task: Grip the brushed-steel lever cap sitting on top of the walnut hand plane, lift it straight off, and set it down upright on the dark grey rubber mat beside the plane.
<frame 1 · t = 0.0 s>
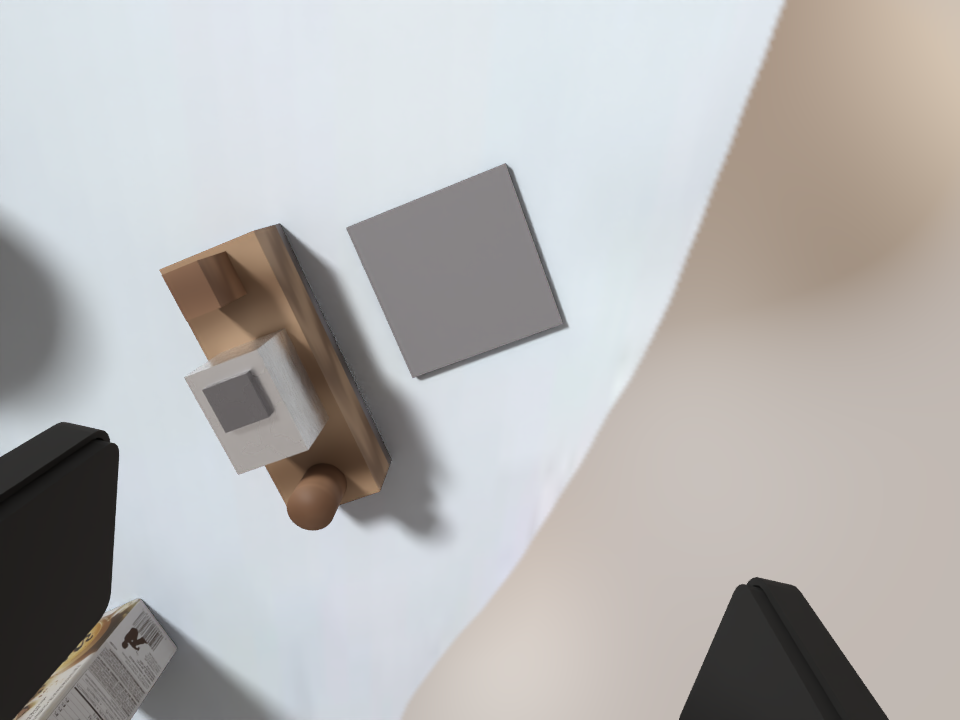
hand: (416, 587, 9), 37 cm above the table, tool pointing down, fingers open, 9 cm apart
rubber mat: (457, 275, 45), on the table
coffee box: (121, 637, 57), on the table
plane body: (297, 363, 48), on the table
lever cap: (275, 386, 43), point 5 cm above the table, touching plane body
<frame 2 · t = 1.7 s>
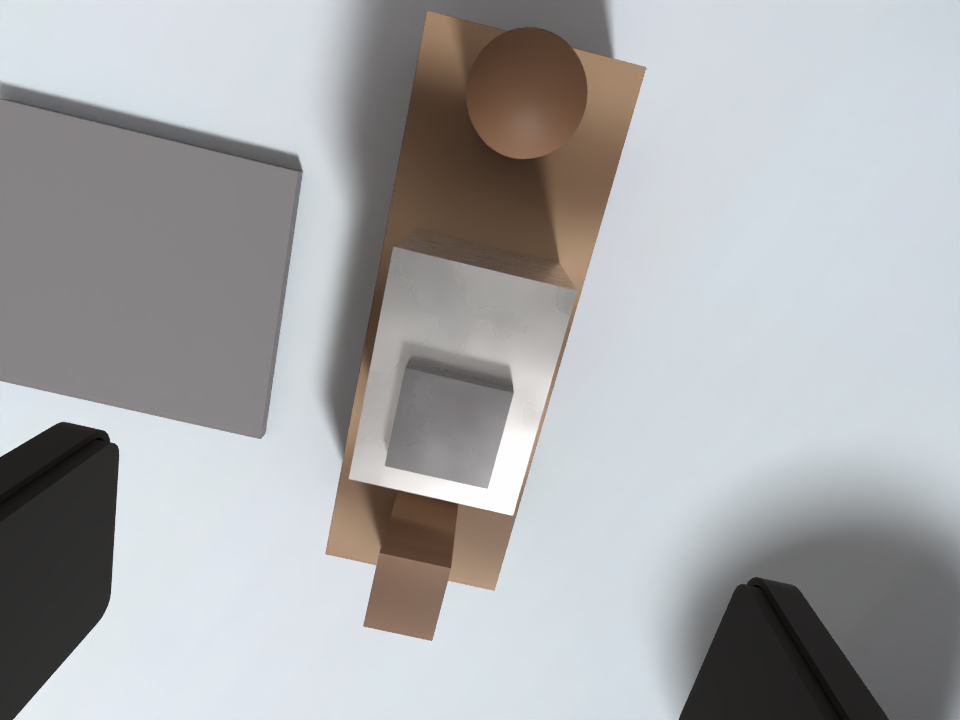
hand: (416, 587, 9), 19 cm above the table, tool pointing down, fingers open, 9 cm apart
rubber mat: (145, 279, 27), on the table
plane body: (471, 310, 27), on the table
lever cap: (465, 341, 22), point 5 cm above the table, touching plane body
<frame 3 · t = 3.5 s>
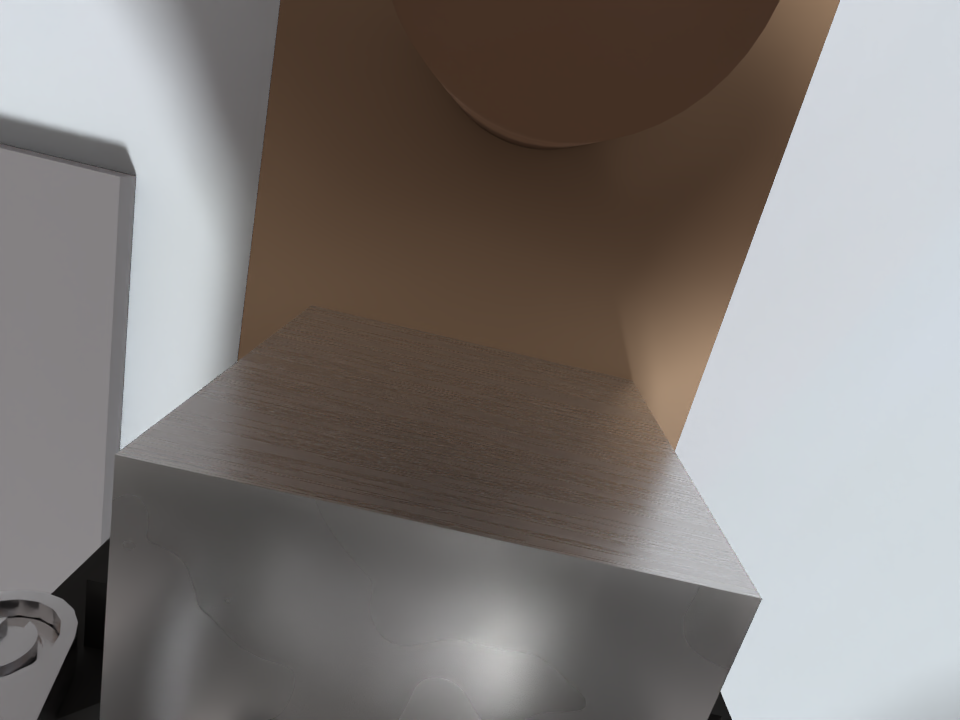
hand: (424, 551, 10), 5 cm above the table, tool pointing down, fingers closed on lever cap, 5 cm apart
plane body: (450, 419, 15), on the table
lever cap: (426, 536, 11), point 5 cm above the table, touching gripper, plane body
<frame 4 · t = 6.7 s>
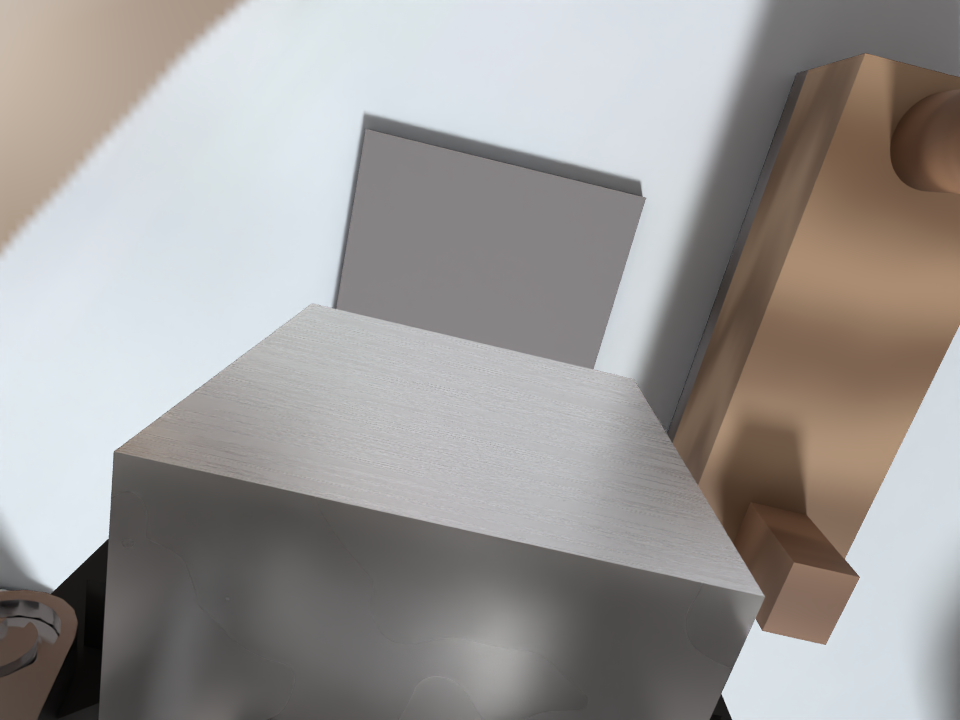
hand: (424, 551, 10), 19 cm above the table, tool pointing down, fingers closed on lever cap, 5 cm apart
rubber mat: (475, 298, 28), on the table
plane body: (786, 327, 28), on the table
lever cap: (427, 535, 10), point 19 cm above the table, touching gripper
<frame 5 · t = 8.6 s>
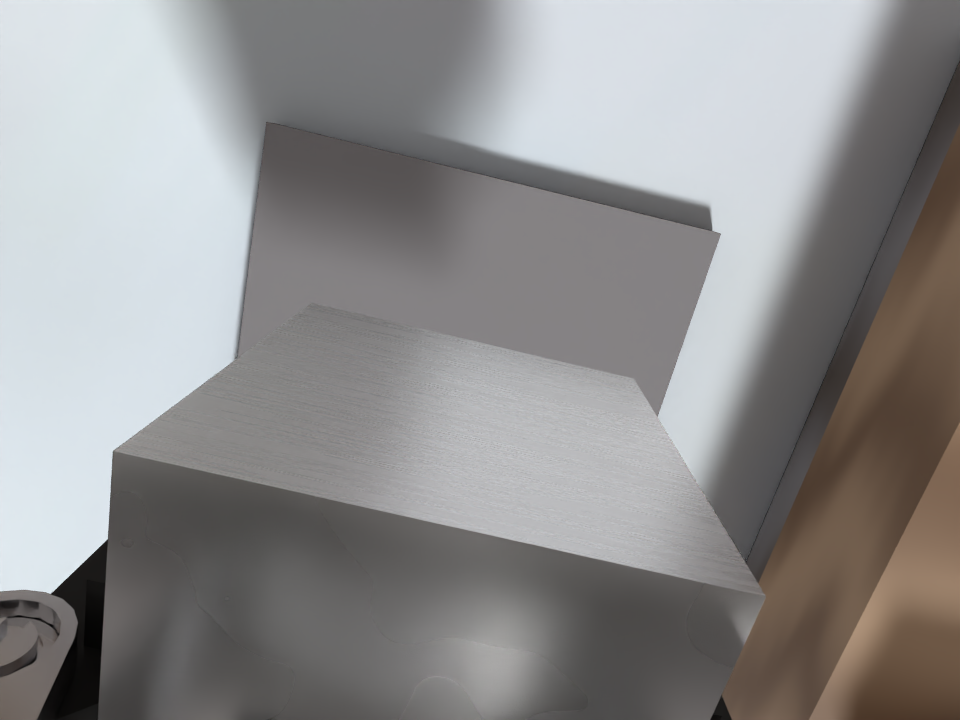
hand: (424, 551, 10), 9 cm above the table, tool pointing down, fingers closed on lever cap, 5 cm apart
rubber mat: (449, 385, 18), on the table
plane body: (926, 429, 18), on the table
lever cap: (427, 535, 10), point 8 cm above the table, touching gripper
when the fingers open (3 cm above the table, at t = 10.1 s): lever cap drops 2 cm, resting on rubber mat.
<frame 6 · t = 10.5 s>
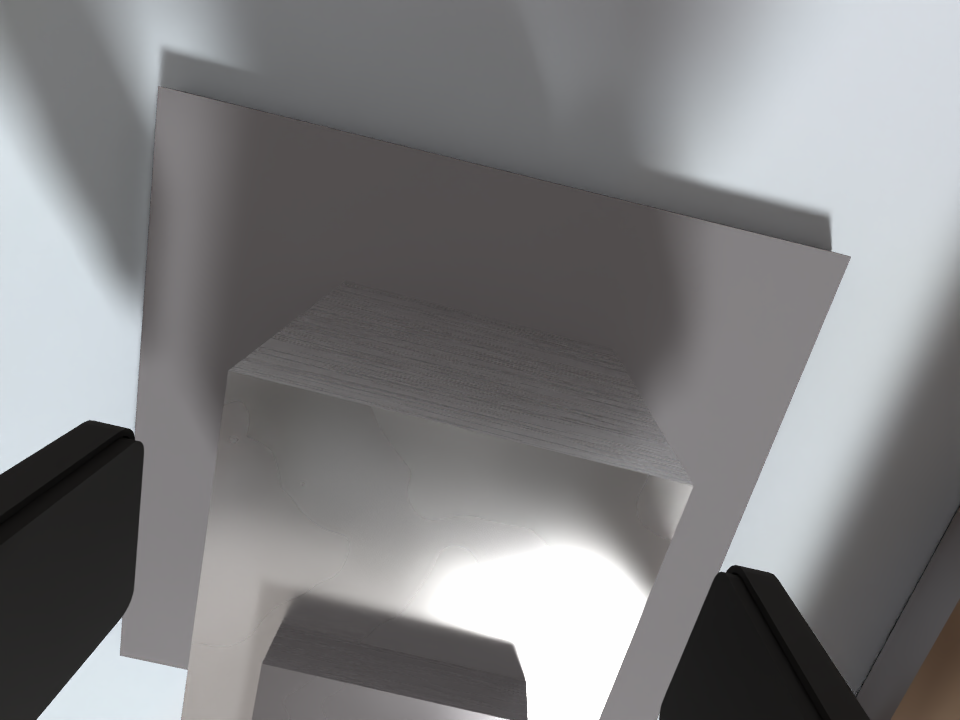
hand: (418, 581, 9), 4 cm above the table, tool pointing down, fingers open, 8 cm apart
rubber mat: (440, 467, 13), on the table
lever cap: (437, 482, 12), point 1 cm above the table, touching rubber mat
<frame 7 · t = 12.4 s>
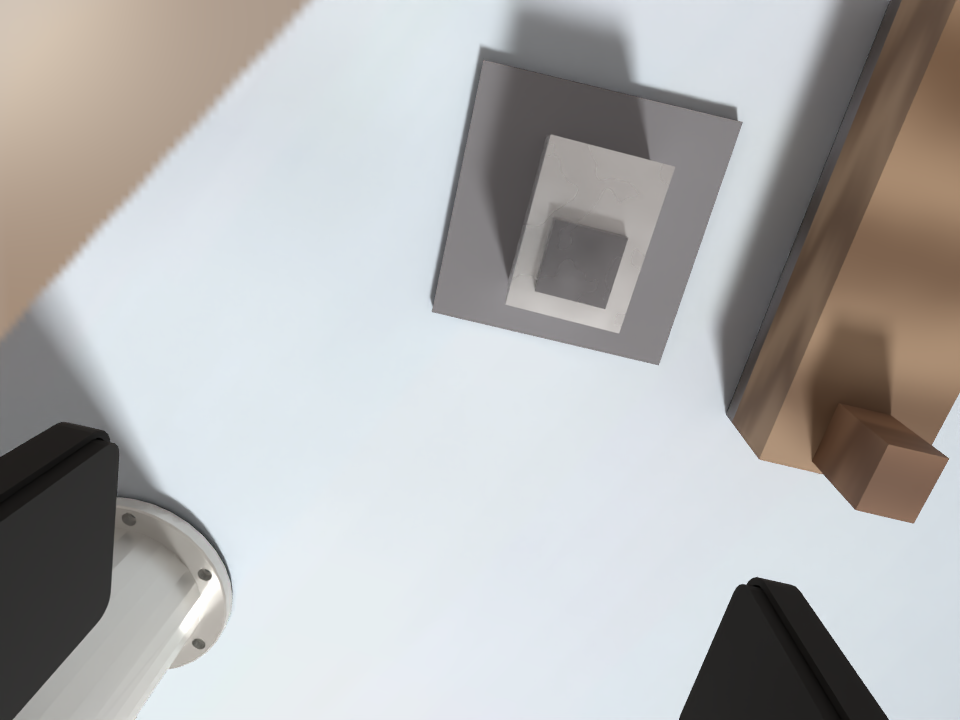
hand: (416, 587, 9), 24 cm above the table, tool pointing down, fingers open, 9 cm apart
rubber mat: (576, 221, 31), on the table
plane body: (869, 247, 30), on the table
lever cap: (576, 223, 30), point 1 cm above the table, touching rubber mat
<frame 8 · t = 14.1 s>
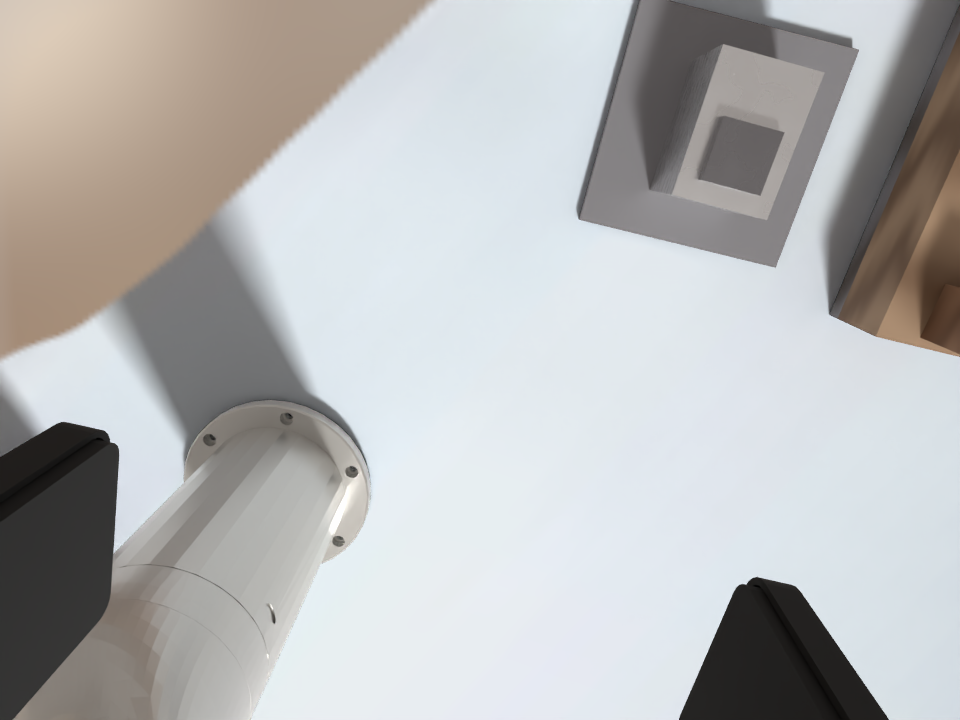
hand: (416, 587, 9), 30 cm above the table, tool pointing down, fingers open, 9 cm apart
rubber mat: (709, 139, 35), on the table
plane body: (958, 162, 35), on the table
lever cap: (712, 138, 35), point 1 cm above the table, touching rubber mat
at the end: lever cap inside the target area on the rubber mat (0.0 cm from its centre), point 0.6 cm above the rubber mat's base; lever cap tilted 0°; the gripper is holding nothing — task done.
